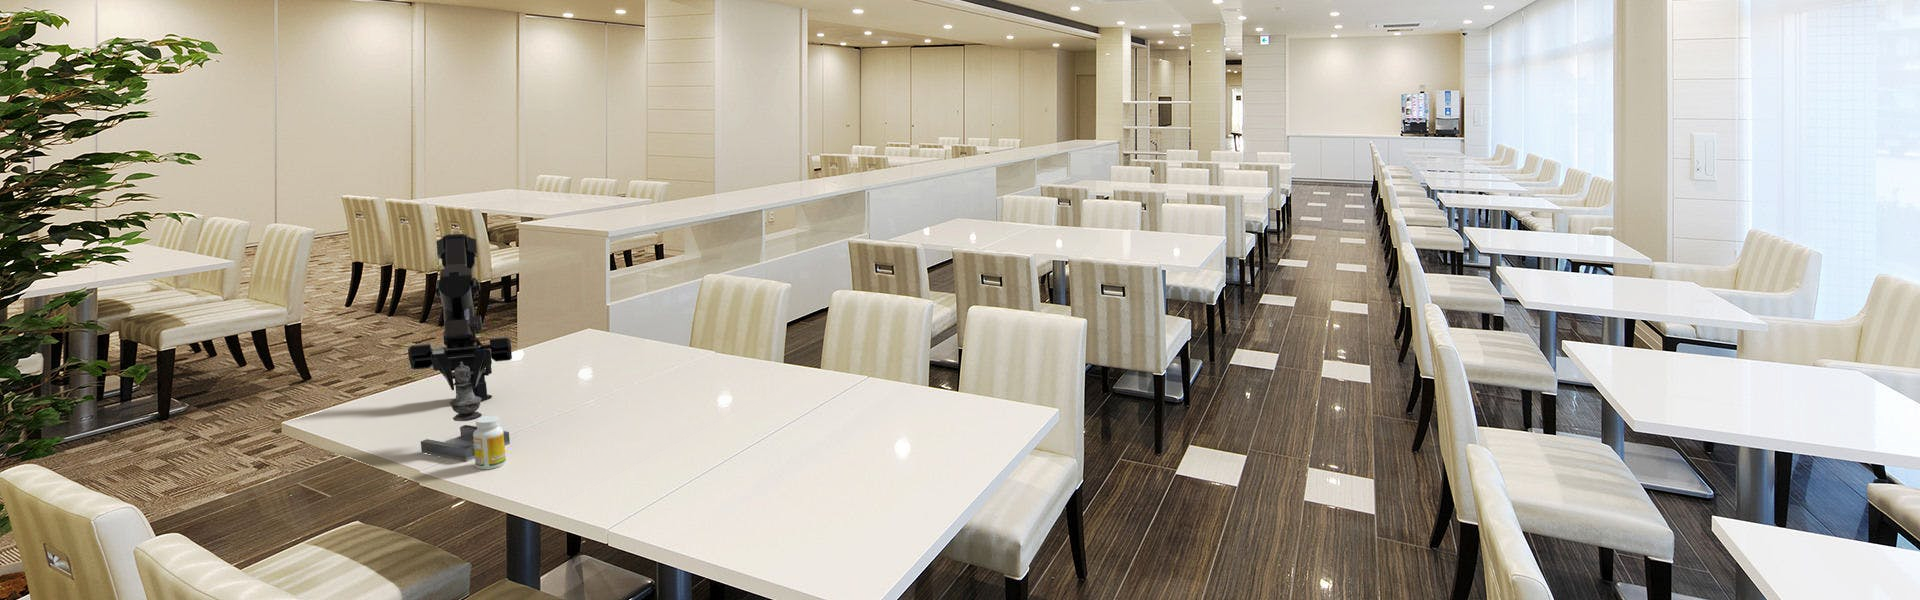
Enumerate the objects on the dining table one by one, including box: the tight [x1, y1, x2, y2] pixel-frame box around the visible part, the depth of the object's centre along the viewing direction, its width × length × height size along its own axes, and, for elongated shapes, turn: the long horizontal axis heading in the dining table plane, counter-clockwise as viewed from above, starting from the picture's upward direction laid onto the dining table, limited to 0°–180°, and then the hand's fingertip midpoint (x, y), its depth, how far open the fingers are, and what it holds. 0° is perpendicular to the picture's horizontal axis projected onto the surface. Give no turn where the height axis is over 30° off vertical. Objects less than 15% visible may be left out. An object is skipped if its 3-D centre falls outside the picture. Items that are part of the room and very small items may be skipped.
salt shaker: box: [449, 361, 483, 422], centre depth 188 cm, size 6×6×12 cm
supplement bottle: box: [473, 415, 507, 470], centre depth 180 cm, size 5×5×10 cm
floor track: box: [420, 424, 511, 462], centre depth 189 cm, size 12×11×3 cm
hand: (463, 388), depth 186 cm, fingers closed on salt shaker, 4 cm apart
